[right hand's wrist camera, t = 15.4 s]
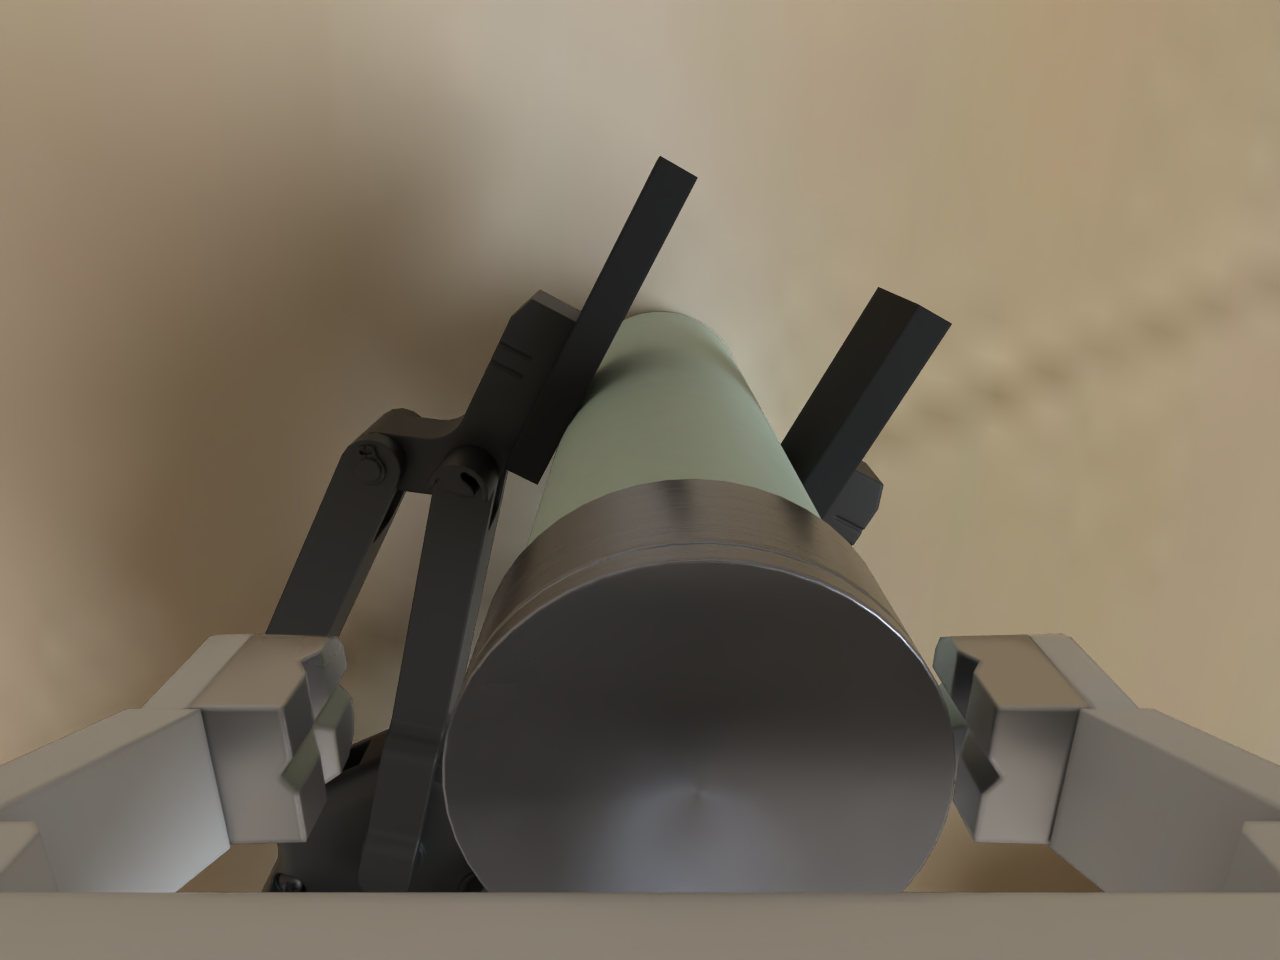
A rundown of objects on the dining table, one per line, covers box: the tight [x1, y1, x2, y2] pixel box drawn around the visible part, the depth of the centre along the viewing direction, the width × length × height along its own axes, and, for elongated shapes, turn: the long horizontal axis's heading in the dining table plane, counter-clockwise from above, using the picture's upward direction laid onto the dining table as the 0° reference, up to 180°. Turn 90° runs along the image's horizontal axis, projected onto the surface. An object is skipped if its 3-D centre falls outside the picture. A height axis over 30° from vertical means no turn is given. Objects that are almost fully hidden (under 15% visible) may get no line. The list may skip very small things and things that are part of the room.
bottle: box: [526, 312, 821, 548], centre depth 16 cm, size 5×5×16 cm
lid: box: [442, 479, 956, 892], centre depth 9 cm, size 5×5×2 cm
